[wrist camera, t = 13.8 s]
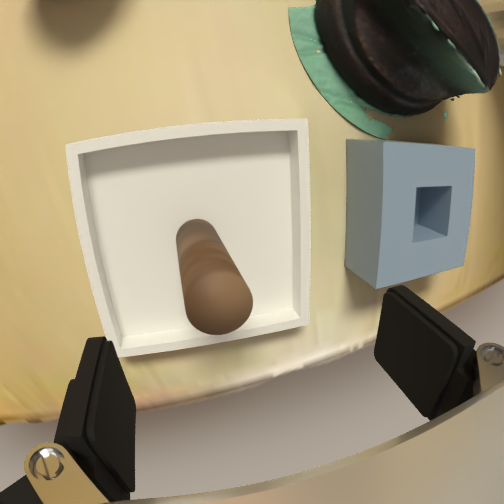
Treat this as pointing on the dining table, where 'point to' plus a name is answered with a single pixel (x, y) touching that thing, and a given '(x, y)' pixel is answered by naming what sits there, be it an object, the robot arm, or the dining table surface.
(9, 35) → the dining table surface
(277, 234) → the tray
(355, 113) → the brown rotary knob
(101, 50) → the dining table surface
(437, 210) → the holder
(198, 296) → the pin
